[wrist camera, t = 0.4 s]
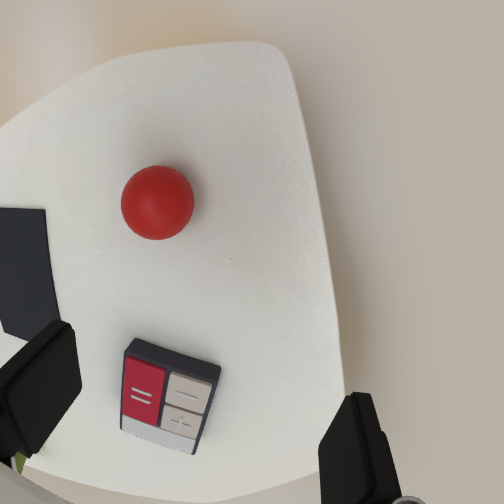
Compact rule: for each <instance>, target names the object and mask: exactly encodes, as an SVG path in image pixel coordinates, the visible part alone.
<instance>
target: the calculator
mask: <svg viewBox="0 0 504 504" xmlns="http://www.w3.org/2000/svg"><path fill="white" fill-rule="evenodd" d="M220 373H221V368H220V367H219V366H216V365H213V364H210V363H207V362H203V361H200V360H197V359H194V358H191V357H188V356H185V355H182V354H179V353H176V352H173V351H170V350H167V349H164V348H161V347H158V346H155V345H153V344H150V343H147V342H144V341H142V340H139V339H134V340H133V341H132V342H131V343H130V345H129V346H128V347H127V349H126V350H125V352H124V361H123V373H122V389H121V409H120V429H121V430H123V431H124V432H127V433H129V434H132V435H134V436H137V437H139V438H142V439H145V440H147V441H150V442H153V443H156V444H159V445H162V446H164V447H167V448H170V449H174V450H177V451H180V452H183V453H186V454H191V455H194V454H195V453H196V450H197V447H198V444H199V441H200V437H201V434H202V431H203V428H204V425H205V422H206V419H207V416H208V412H209V409H210V406H211V403H212V400H213V397H214V394H215V390H216V387H217V384H218V380H219V377H220Z"/></svg>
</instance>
